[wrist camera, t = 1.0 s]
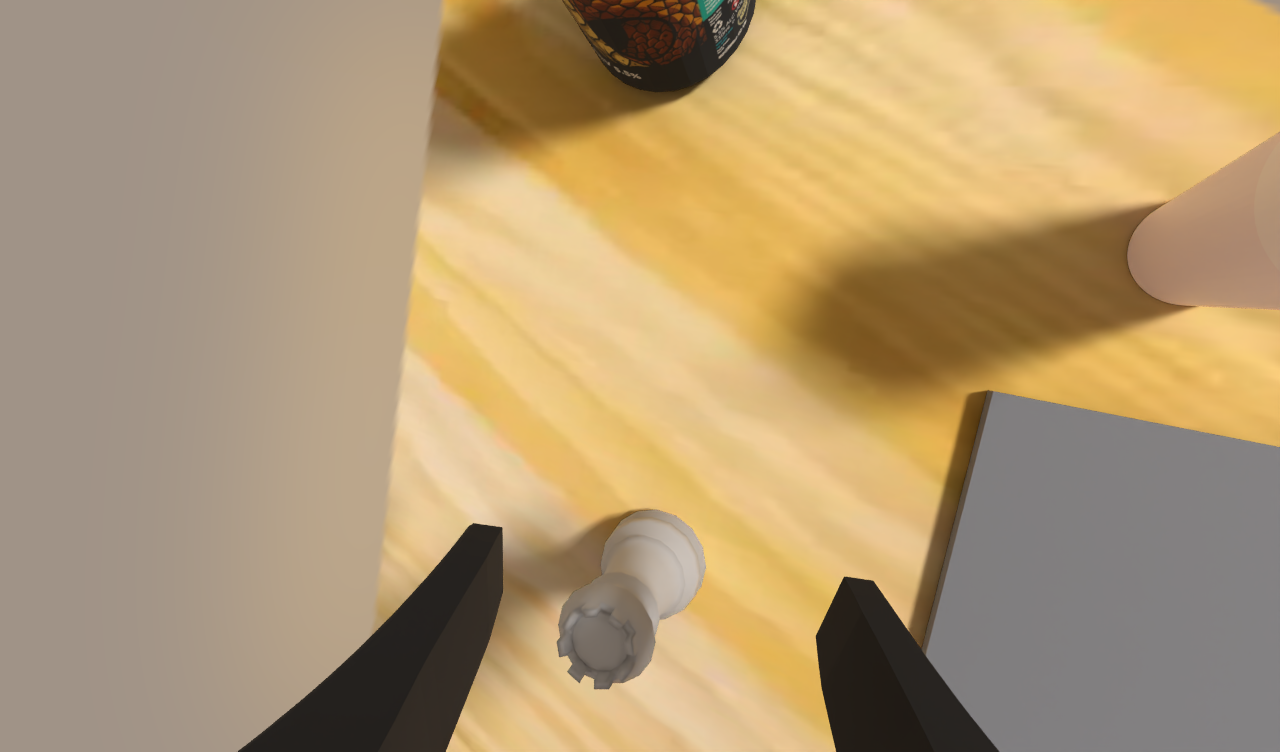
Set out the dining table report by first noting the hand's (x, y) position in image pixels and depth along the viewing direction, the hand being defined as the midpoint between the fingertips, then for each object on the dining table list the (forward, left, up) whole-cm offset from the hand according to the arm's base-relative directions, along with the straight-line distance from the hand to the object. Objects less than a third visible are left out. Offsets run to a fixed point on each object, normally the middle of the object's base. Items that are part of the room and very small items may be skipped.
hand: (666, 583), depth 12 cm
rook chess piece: (-5, +2, -12) cm, 13 cm away
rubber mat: (-2, -16, -12) cm, 20 cm away
